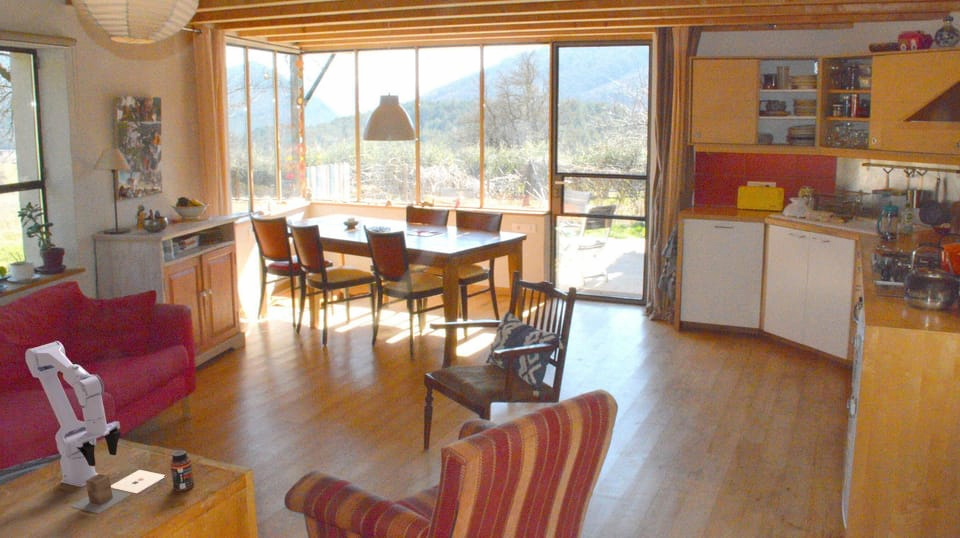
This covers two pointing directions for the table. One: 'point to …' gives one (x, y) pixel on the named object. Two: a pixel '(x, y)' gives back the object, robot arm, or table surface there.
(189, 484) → the supplement bottle
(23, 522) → the table surface
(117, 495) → the grey mat
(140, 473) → the cream mat
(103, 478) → the walnut block
